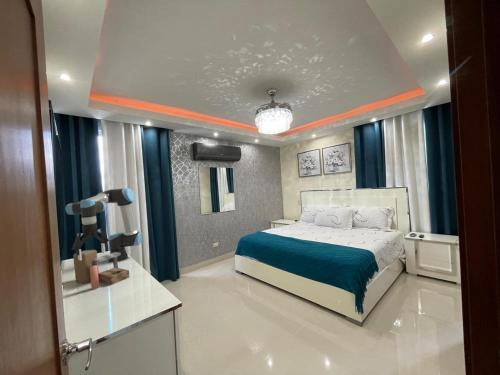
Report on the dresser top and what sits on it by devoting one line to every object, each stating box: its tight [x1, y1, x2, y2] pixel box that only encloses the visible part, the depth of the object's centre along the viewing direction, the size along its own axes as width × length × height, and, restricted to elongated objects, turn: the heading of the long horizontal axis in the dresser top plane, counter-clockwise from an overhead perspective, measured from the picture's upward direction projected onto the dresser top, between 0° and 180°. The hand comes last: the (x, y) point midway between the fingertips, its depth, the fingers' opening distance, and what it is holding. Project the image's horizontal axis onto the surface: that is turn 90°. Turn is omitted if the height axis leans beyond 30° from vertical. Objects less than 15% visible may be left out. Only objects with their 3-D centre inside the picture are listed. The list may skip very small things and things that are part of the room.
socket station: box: [92, 252, 130, 285], centre depth 155 cm, size 16×19×16 cm
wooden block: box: [73, 249, 100, 284], centre depth 156 cm, size 10×10×20 cm
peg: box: [90, 265, 100, 290], centre depth 142 cm, size 4×4×14 cm
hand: (92, 256), depth 141 cm, fingers open, 13 cm apart
